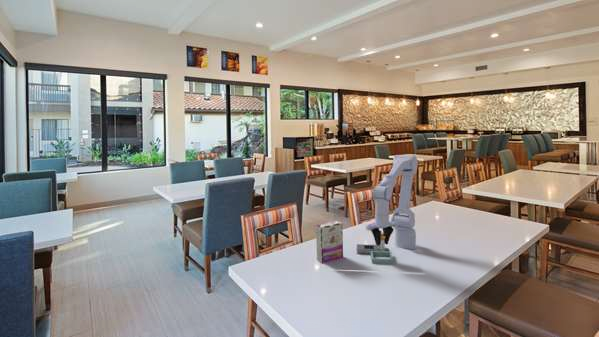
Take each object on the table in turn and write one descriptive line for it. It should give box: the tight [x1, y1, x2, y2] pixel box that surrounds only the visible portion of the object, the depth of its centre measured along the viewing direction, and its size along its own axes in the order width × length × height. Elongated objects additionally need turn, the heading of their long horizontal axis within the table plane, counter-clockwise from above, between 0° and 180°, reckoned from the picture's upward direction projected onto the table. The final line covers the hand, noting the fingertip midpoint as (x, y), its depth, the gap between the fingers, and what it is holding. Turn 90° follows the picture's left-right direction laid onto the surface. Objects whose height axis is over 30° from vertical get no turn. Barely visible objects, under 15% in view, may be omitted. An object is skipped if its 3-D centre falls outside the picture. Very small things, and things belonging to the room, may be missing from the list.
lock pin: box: [377, 232, 386, 252], centre depth 140 cm, size 4×4×7 cm
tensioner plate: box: [356, 243, 391, 255], centre depth 149 cm, size 15×7×3 cm, turn 81°
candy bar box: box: [315, 220, 344, 264], centre depth 142 cm, size 11×5×16 cm, turn 117°
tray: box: [370, 251, 395, 265], centre depth 140 cm, size 9×9×2 cm
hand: (381, 244), depth 140 cm, fingers closed on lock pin, 3 cm apart
